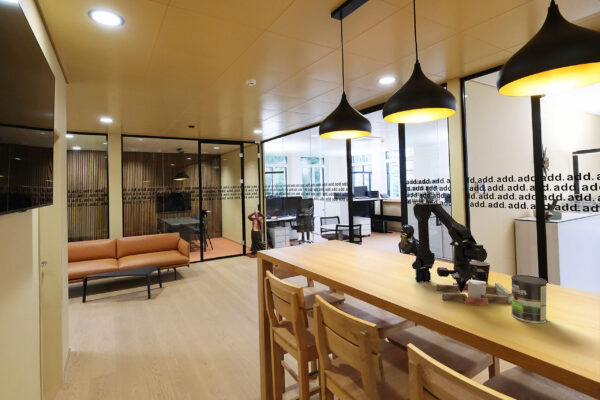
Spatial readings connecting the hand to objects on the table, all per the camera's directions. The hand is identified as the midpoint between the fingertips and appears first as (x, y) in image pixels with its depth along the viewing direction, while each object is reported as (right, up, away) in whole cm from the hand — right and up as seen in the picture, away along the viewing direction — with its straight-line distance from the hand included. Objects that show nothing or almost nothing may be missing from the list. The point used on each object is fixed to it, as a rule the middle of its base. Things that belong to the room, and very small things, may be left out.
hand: (461, 292), depth 134 cm
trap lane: (+4, -1, -1) cm, 4 cm away
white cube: (+6, -2, -1) cm, 6 cm away
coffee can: (+12, -2, -23) cm, 26 cm away
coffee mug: (+17, 0, +17) cm, 24 cm away
